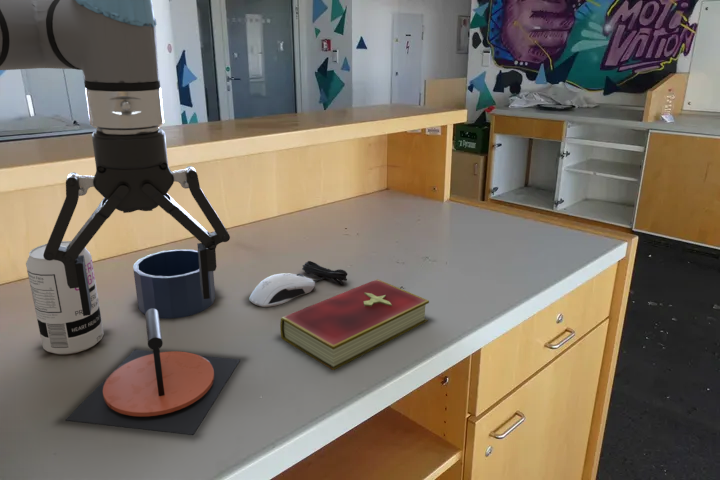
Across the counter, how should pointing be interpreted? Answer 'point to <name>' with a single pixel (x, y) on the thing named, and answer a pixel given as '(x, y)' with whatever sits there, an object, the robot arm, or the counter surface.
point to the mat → (173, 422)
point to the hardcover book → (353, 322)
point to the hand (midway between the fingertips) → (148, 302)
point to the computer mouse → (291, 285)
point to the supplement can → (63, 304)
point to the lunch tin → (171, 284)
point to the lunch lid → (158, 378)
